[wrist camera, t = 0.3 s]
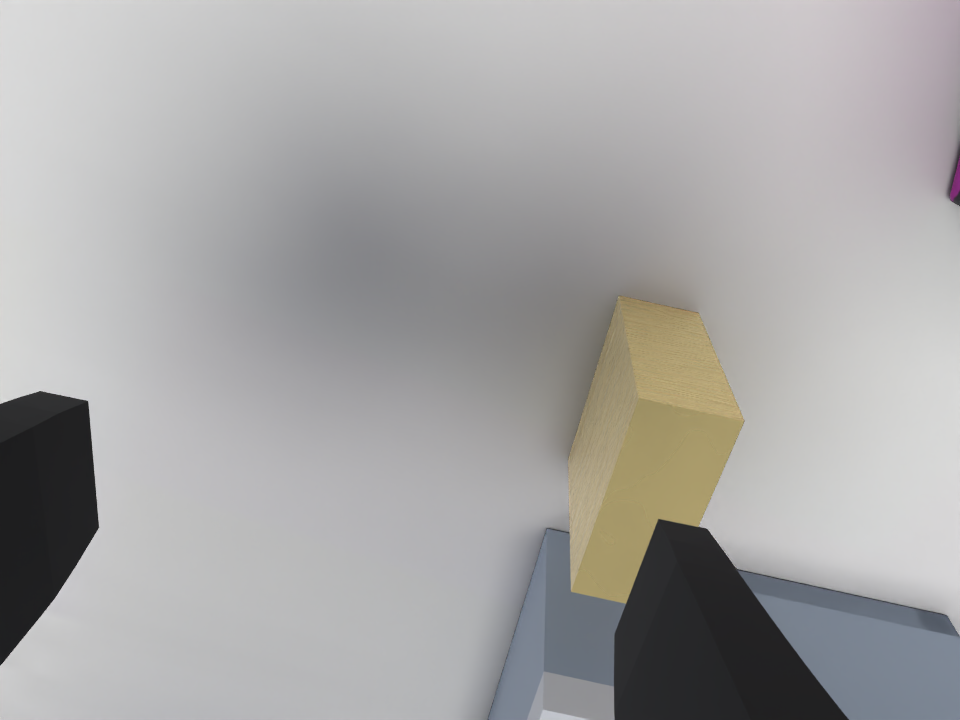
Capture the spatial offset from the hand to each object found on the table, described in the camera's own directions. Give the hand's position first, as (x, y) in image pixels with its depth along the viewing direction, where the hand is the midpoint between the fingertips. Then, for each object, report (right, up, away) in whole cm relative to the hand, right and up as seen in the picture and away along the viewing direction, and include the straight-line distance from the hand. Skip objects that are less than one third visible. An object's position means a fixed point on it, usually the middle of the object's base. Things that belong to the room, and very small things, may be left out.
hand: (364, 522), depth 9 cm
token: (+5, +1, +10) cm, 11 cm away
